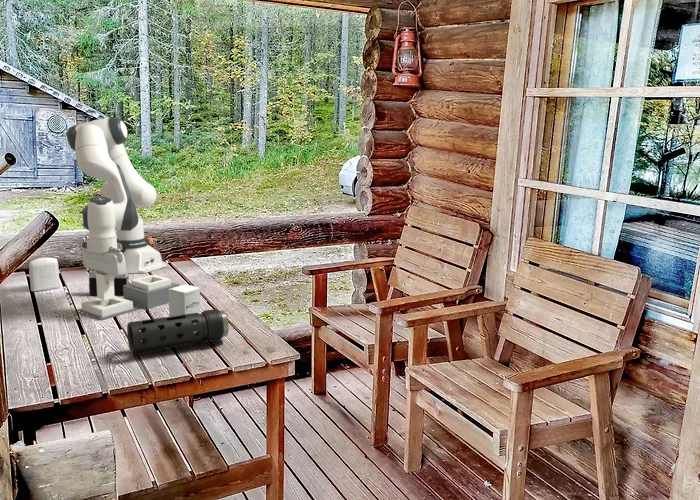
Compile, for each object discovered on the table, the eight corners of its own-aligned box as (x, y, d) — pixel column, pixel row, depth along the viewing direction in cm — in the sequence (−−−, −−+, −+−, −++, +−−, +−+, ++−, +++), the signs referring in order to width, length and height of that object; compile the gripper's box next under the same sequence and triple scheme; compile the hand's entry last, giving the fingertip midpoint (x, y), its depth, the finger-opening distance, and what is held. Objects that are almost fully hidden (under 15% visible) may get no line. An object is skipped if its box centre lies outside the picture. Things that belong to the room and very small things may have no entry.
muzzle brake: (128, 350, 174) (126, 317, 172) (219, 335, 188) (219, 304, 186) (134, 362, 166) (132, 327, 164) (230, 345, 180) (229, 313, 178)
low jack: (113, 301, 216) (112, 293, 215) (137, 309, 208) (136, 301, 208) (77, 311, 205) (76, 303, 204) (101, 320, 197) (101, 311, 196)
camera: (134, 290, 230) (132, 266, 228) (124, 297, 221) (123, 272, 219) (99, 289, 231) (97, 264, 228) (88, 296, 222) (86, 270, 219)
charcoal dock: (155, 292, 229) (154, 272, 227) (179, 299, 221) (178, 279, 219) (123, 301, 217) (122, 280, 216) (148, 308, 210) (147, 287, 208)
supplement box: (184, 329, 191) (183, 292, 188) (168, 325, 195) (167, 288, 192) (201, 323, 198) (200, 287, 195) (185, 319, 201) (184, 283, 198)
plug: (107, 295, 208) (106, 268, 206) (114, 297, 206) (113, 270, 204) (97, 298, 205) (95, 270, 203) (104, 300, 203) (102, 272, 200)
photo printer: (57, 285, 233) (55, 255, 231) (61, 288, 230) (59, 257, 228) (29, 290, 226) (26, 258, 224) (32, 292, 223) (30, 261, 221)
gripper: (130, 248, 198) (131, 287, 201) (94, 239, 209) (96, 276, 212) (113, 251, 193) (115, 291, 196) (77, 242, 204) (80, 280, 207)
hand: (105, 283), depth 204 cm, fingers closed on plug, 4 cm apart
